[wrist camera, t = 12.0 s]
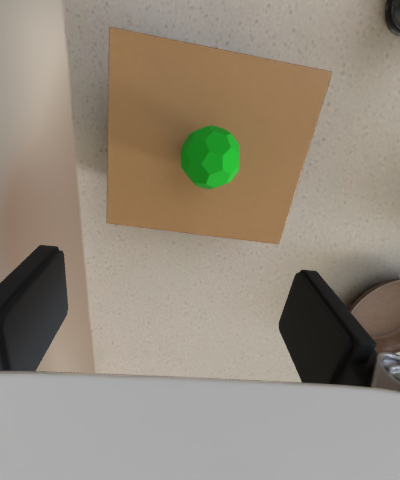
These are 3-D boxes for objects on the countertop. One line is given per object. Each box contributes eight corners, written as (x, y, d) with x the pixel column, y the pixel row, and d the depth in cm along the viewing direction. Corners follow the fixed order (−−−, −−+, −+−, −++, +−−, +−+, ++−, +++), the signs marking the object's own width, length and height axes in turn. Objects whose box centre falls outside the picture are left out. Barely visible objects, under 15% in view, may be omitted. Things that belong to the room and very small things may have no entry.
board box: (121, 201, 34) (106, 223, 27) (127, 46, 27) (109, 26, 20) (262, 220, 36) (279, 244, 29) (299, 80, 29) (333, 71, 22)
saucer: (451, 287, 42) (468, 298, 39) (388, 352, 47) (398, 366, 45) (376, 255, 39) (389, 265, 36) (318, 329, 44) (325, 342, 42)
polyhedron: (179, 125, 24) (178, 128, 19) (235, 123, 24) (247, 125, 19) (182, 182, 26) (182, 197, 21) (234, 180, 26) (244, 194, 22)
